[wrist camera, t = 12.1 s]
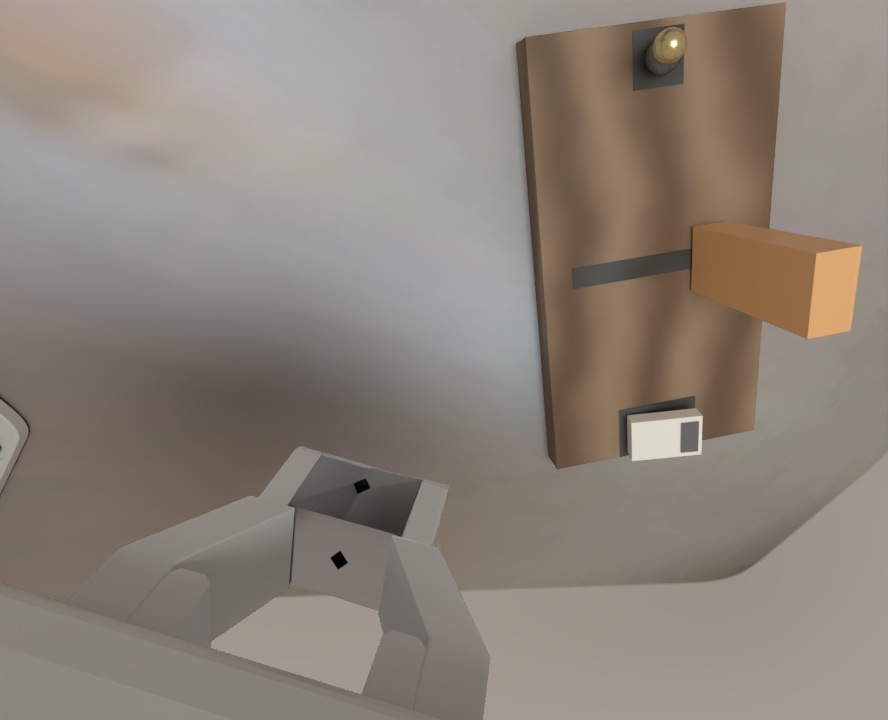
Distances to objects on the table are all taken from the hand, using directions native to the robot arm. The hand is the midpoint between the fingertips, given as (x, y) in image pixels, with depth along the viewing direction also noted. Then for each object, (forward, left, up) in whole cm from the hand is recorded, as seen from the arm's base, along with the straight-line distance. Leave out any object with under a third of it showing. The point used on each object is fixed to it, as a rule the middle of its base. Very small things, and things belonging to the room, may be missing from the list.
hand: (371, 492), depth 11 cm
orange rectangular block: (+8, -22, -26) cm, 34 cm away
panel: (+7, -19, -28) cm, 34 cm away
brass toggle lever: (+17, -12, -25) cm, 33 cm away
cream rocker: (-4, -25, -25) cm, 36 cm away
